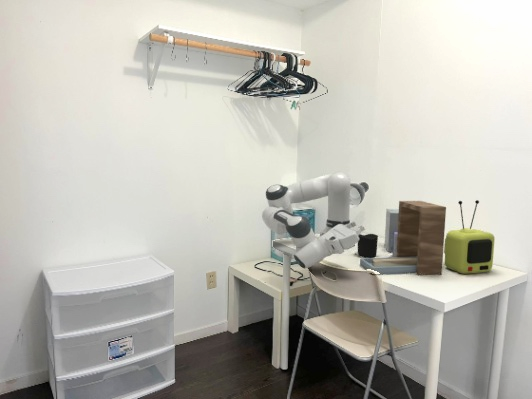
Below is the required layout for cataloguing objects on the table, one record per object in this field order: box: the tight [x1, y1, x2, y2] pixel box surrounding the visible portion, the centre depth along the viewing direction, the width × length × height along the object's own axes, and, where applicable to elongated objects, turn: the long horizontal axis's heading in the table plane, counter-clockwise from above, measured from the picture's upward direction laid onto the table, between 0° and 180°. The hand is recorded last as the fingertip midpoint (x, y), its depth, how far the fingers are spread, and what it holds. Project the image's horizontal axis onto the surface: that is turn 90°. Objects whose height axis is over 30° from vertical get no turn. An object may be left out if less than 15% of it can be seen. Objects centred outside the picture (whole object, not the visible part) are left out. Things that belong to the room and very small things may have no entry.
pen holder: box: [357, 233, 379, 258], centre depth 193 cm, size 9×9×10 cm
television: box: [443, 199, 495, 275], centre depth 172 cm, size 18×18×30 cm
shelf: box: [396, 200, 447, 276], centre depth 172 cm, size 20×10×28 cm, turn 9°
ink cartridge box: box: [391, 232, 398, 258], centre depth 188 cm, size 10×6×14 cm, turn 78°
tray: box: [359, 256, 417, 276], centre depth 173 cm, size 14×27×3 cm, turn 99°
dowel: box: [372, 258, 417, 267], centre depth 172 cm, size 3×20×3 cm, turn 99°
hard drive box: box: [384, 208, 399, 253], centre depth 206 cm, size 16×8×20 cm, turn 170°
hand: (359, 225), depth 167 cm, fingers open, 8 cm apart
